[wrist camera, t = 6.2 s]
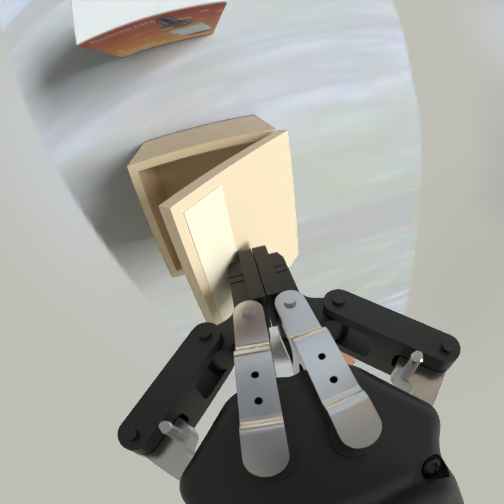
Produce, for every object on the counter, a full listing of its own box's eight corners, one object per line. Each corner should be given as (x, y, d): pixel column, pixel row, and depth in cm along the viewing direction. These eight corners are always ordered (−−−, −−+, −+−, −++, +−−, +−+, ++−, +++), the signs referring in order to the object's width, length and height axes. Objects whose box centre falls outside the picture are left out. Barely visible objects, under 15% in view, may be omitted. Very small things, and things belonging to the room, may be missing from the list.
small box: (122, 58, 16) (71, 49, 8) (114, 7, 13) (65, -27, 4) (215, 35, 17) (230, 3, 8) (206, -17, 13) (216, -71, 5)
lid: (158, 205, 10) (171, 208, 9) (277, 130, 16) (288, 130, 16) (219, 348, 16) (229, 353, 16) (290, 251, 22) (299, 253, 22)
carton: (144, 141, 21) (126, 166, 16) (254, 114, 22) (275, 129, 16) (175, 232, 27) (172, 277, 22) (268, 209, 28) (289, 248, 22)
